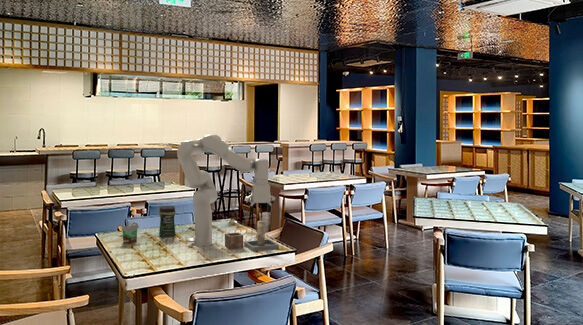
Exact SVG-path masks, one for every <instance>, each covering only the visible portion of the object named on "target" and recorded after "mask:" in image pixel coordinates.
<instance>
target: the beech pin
mask: <svg viewBox="0 0 583 325" xmlns="http://www.w3.org/2000/svg"><path fill="white" fill-rule="evenodd" d="M265 232H266V221H264V220H258V221H257V246H265V240H266V239H265V238H266V236H265V235H266V233H265Z"/></svg>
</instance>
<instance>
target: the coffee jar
mask: <svg viewBox="0 0 583 325" xmlns="http://www.w3.org/2000/svg"><path fill="white" fill-rule="evenodd" d="M158 213H159V217H160V218H159V219H160V220H159V228H158V229H159V230H158V231H159V232H158V234H159V237H163V238H166V237H167V238H169V237H174V236H176V226H175V224H176V223H175V215H176V207H175V206H174V205H160V206H159V212H158Z"/></svg>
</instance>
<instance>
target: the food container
mask: <svg viewBox="0 0 583 325" xmlns="http://www.w3.org/2000/svg"><path fill="white" fill-rule="evenodd" d="M139 226H140V225H139V224H138V223H137V222H132V223H131V224H127V225H124V226H123V225H122V226H121V231H122V232H121V233H122V243H123V244H133V243H135V242H136V243H137V240H138V228H139Z"/></svg>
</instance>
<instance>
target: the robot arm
mask: <svg viewBox="0 0 583 325" xmlns="http://www.w3.org/2000/svg"><path fill="white" fill-rule="evenodd" d="M207 152H210V153H212V154H214V155H215V156H217V157H218V158H220V159H222V160H223V161H224V162H225V163H226V164H228V165H229V166H230V167H232V168H234V169H235V170H237V171H239V172H242V173H249V172H253V173H254V175H253V176H254V177H253V179H251V183H253V184H252V188H251V192H250V193H251V194H250V195H248V196H247V197H245V201H246V204H248V206H249V212H250V214H252V215H253V214H254V205H255V204H266V213H269V214H270V213H271V208H272V205H273V204H274V202H275V200H276V197H275V196H274V195H272V194H271V186H270V184H269V169H270V168H269V166H270V165H269V163H270V162H269V160H268V159H265V158H253V157H243V156H241V155H240V154H238V153H236V152H235V151H234V150H233V147H232V146H231V144H228V143H226V142H225V141H223V139H222V138H221V137H220V136H219V135H218V134H206V135H204V136H203V137H202V138H201V137H200V138H198V139H188V140H184V141H182V142H181V143H180V144H179V146H178V147H177V150H176V153H177V154H176V156H177V159H178V162H179V164H180V166H181V168H182V171H183V173H184V176H185V178H186V180H187V182H188V186H190V187H191V188H193V189H198V190H197V191H195V193H194V194H193V196H192V201H193V211H194V235H193V237H192V238H186V239H185V242H186V243H191V244H192V245H194V246H197V247H198V246H211V245H214V244H215V243H216V242H215V241H214V240H213V216H212V215H213V211H212V206H211V204H213V203H215V202H216V201H217V199H218V191H217V189H216V186H215V184H214V181H213V180H212V177H211V175H210V173H209V172H208V171H205V170H204V169H203V170H202V169H201V170H200V167H199V165H198V163H197V161H196V160H195V158H194V157H193V156H194V155H200V154H204V153H207Z"/></svg>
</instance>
